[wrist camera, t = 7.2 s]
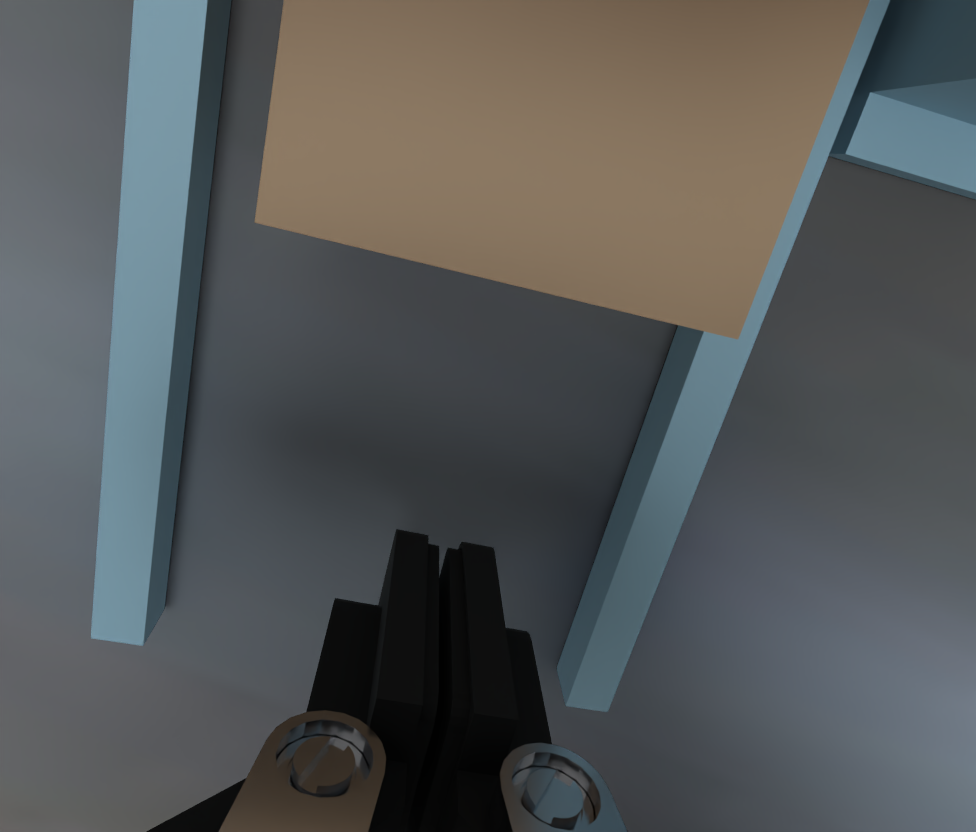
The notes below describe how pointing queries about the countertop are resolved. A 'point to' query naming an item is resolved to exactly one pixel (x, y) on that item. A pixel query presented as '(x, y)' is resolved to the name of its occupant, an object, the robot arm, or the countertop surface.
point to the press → (684, 378)
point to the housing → (557, 139)
